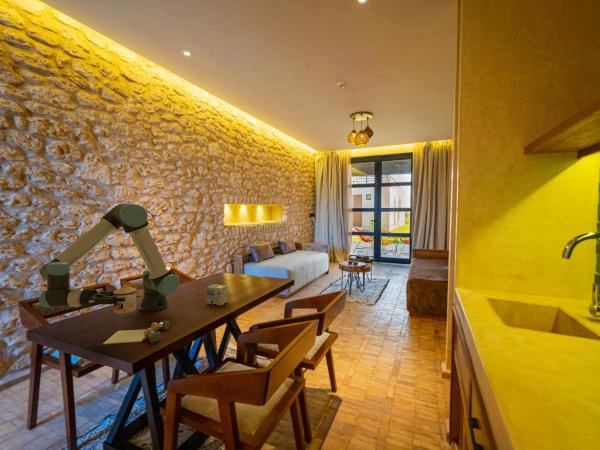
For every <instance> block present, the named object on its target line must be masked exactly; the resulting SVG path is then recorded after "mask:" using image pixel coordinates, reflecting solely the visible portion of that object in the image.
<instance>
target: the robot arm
mask: <svg viewBox="0 0 600 450" xmlns="http://www.w3.org/2000/svg"><path fill="white" fill-rule="evenodd" d="M149 224H150V223H149V221H148V211H147V210H146V208H145V207H144V206H142V205H140V203H139V204H138V203H135V202H134V203H133V202H129V203H120V204H117V205H115V206H114V207H112V208H111V209H110V210H108V212H106V213H105V214H104V215H103V216H102V217H100V218H99V222H98V223H96V224H95V225H94V226H93V227H92V228H90V229H88V231H86V232H85V233H84V234H83V235H81V236H80V237H79V238H78V239H76V241H74V242H73V243H71V244H70V245H69V246H68V247H66V249H64V250H63V251H62V252H61V253H59V254H58V255H56V257H55V258H53V259H52V260H50V262H47V263H44V264H43V265H41V266H40V268H39V271H38V272H39V275H40V277H41V278H42V279H43V280H46V284H47V286H46V290H44V291H42V292H41V294H39V295H40V297H39V299H38V302H39V305H40V306H41V307H42V308H50V309H51V308H52V309H54V308H55V309H56V308H70V307H71V308H72V307H74V308H79V307H93V306H94V305H108V306H109V305H113V306H114V305H117V303H123V302H134V295H133V296H117V297H114V294H113V292H114V291H115V290H116V289H112V290H111V289H110V290H103V291H99V292H98V290H97V289H95V288H74V289H71V285H70V284H71V268H72V267H73V266H74V265H75V264H77V263H78V262H79V261H80V260H82V258H84V256H86V255H87V254H89V252H91V251H92V250H93V249H94V248H95V247H97V245H99V244H100V243H101V242H103V240H104V239H105V238H107V237H108V236H109V235H111V233H114V232H117V231H118V230H120V229H121V228H122V229H123V231H124V234H127V235H130V237H131V239H132V241H133V242H134V245H135V247H136V249H137V251H138V253H139V254H140V255H139V256H141V257H140V258H141V259H142V260H143V262H144V264H145V266H146V268H147V269H145V270H143V271H142V289H136V290H137V292H136V297H142V299H141V301H140V304H139V310H140V311H141V312H157V311H161V310H164V309H167V308H168V307H169V300H168V298H167V296H171V295H173V294H175V293H176V292H177V290H179V286H181V285H180V284H181V283H180V279H179V277H178V276H177V275H176V274H174V273H173V271H172V269H171V267H170V266H167V265H166V263H165V261H164V259H163V257H162V255H161V253H160V251H159V249H158V247H157V245H156V243H155V241H154V239H153V235H152V234H151V232H150V231H149V229H148V228H149Z"/></svg>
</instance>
